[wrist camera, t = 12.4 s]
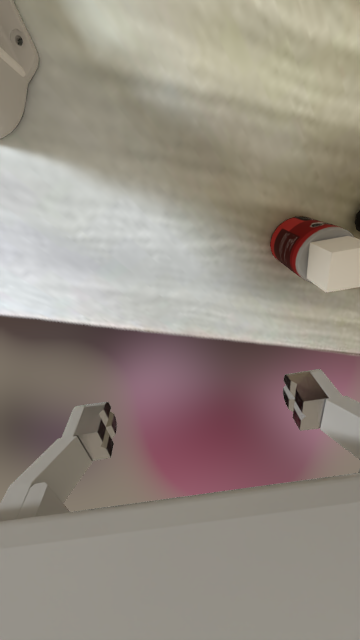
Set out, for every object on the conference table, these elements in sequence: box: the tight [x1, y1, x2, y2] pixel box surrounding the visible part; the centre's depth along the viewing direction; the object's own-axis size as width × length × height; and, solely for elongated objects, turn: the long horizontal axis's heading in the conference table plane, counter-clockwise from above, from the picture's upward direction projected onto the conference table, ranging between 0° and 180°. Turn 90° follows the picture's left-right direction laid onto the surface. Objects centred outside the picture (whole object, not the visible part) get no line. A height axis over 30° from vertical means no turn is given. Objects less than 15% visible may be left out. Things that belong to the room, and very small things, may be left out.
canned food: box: [270, 216, 354, 283], centre depth 38 cm, size 8×8×11 cm
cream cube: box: [306, 236, 360, 293], centre depth 31 cm, size 5×5×5 cm
